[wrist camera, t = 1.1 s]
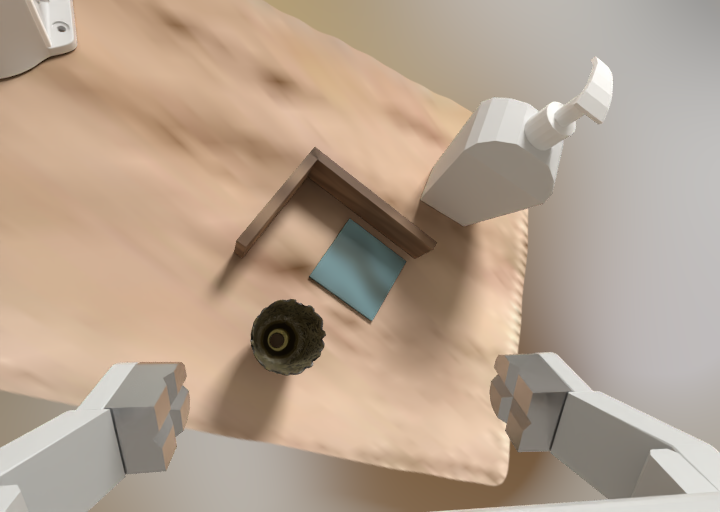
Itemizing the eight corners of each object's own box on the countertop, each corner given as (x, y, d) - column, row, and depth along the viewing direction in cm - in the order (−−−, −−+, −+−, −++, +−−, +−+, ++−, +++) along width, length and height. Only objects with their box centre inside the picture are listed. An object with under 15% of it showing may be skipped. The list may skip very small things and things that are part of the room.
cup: (232, 359, 42) (237, 359, 35) (260, 299, 45) (269, 287, 38) (293, 382, 44) (310, 386, 37) (316, 323, 47) (336, 316, 40)
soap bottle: (488, 187, 63) (650, 86, 40) (472, 237, 59) (642, 157, 36) (427, 147, 61) (564, 15, 37) (407, 197, 57) (544, 83, 33)
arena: (366, 345, 49) (382, 343, 44) (233, 252, 45) (236, 240, 41) (418, 252, 55) (437, 242, 50) (305, 165, 52) (314, 146, 47)
